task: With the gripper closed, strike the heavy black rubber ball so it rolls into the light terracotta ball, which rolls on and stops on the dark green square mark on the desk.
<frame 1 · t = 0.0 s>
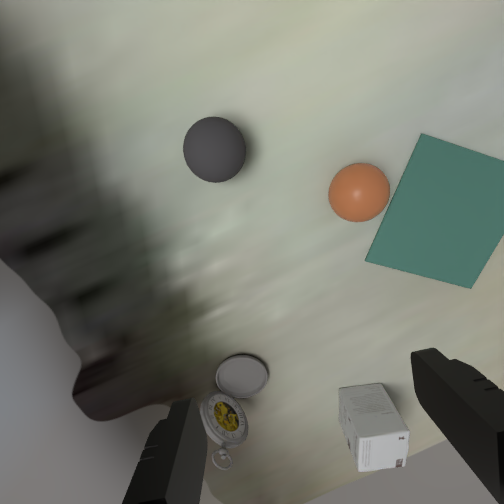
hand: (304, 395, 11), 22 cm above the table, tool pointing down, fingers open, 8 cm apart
pocket watch: (235, 376, 39), on the table
black ball: (214, 150, 26), on the table
skincare box: (358, 400, 41), on the table
green mark: (447, 218, 32), on the table
terracotta ball: (358, 193, 28), on the table
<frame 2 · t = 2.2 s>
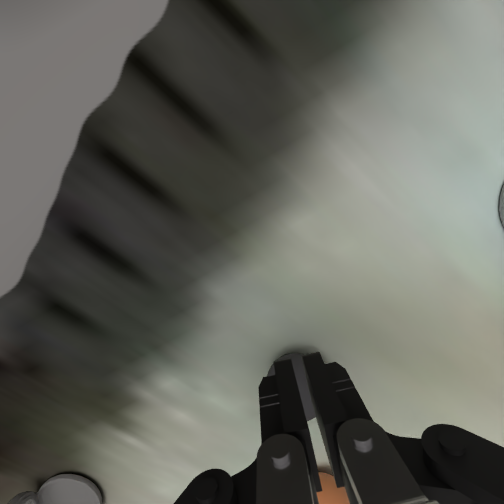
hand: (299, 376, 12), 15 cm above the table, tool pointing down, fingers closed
pocket watch: (63, 490, 32), on the table
black ball: (296, 386, 26), on the table
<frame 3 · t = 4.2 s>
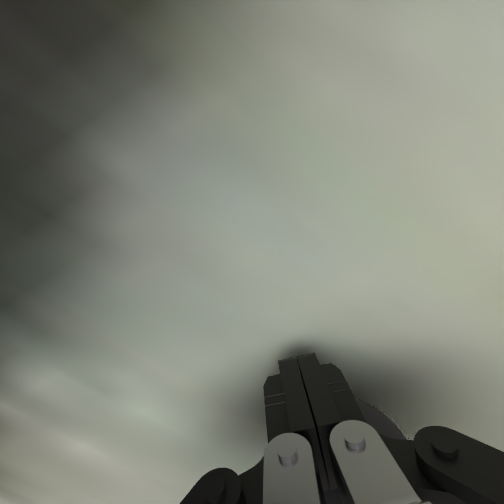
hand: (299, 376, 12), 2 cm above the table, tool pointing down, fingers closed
black ball: (344, 473, 11), on the table
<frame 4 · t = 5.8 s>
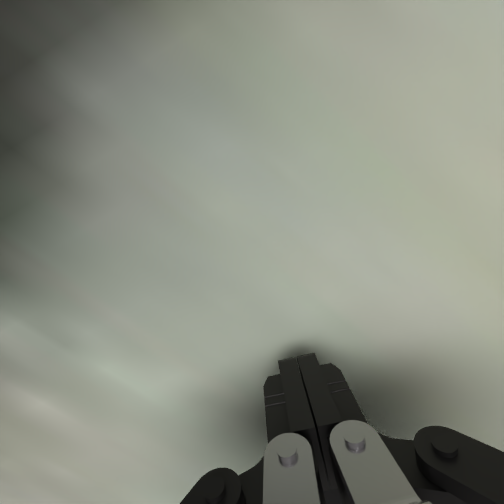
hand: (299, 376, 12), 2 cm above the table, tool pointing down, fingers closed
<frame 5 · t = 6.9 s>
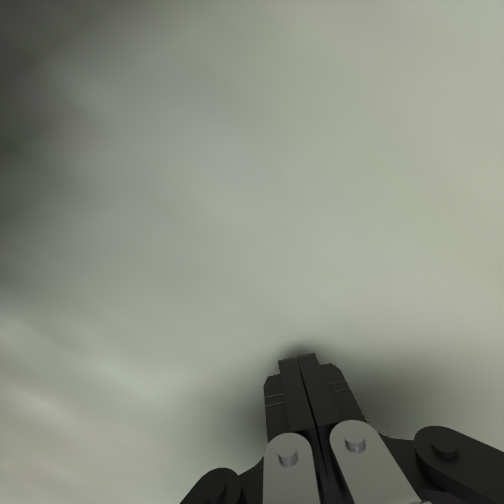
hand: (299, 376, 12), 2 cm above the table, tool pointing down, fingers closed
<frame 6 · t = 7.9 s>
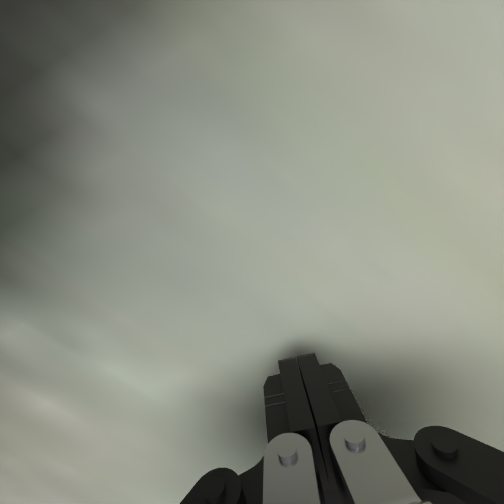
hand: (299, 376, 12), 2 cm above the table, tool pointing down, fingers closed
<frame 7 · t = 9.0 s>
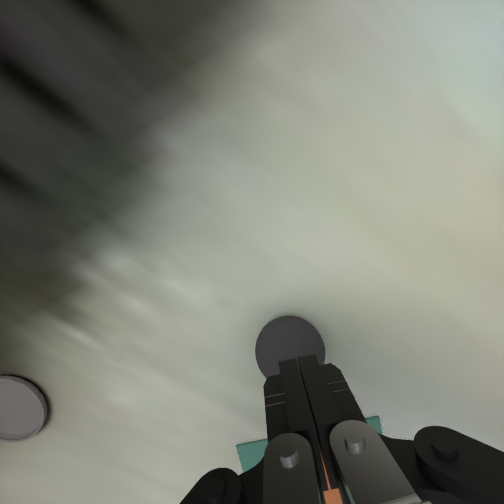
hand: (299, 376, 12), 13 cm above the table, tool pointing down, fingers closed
pocket watch: (3, 399, 27), on the table
black ball: (289, 351, 23), on the table
green mark: (319, 487, 30), on the table
terracotta ball: (318, 476, 26), on the table
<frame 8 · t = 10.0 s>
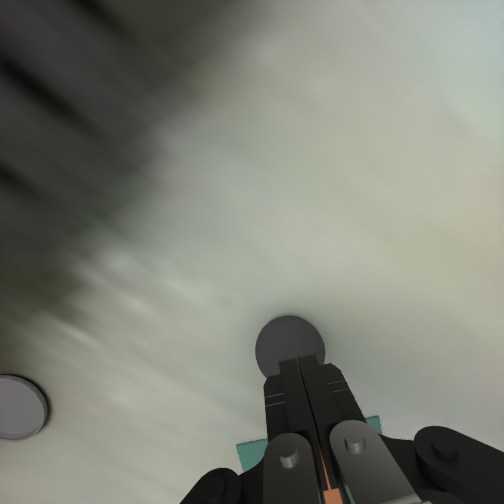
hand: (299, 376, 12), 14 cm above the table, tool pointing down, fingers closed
pocket watch: (3, 398, 27), on the table
black ball: (289, 351, 23), on the table
green mark: (319, 486, 30), on the table
terracotta ball: (318, 476, 26), on the table
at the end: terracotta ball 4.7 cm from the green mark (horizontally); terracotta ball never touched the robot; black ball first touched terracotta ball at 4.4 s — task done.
